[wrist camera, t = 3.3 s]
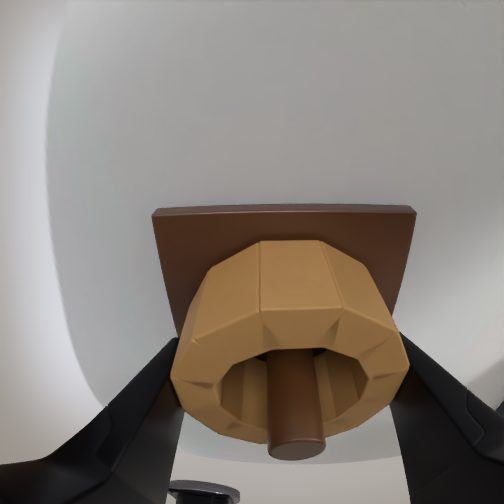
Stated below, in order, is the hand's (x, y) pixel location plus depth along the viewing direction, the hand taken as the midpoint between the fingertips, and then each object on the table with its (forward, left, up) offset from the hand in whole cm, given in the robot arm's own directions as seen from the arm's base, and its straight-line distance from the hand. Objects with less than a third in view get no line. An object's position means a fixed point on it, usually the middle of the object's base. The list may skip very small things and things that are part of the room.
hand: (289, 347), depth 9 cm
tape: (0, 0, -1) cm, 1 cm away
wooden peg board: (0, 0, -2) cm, 2 cm away
